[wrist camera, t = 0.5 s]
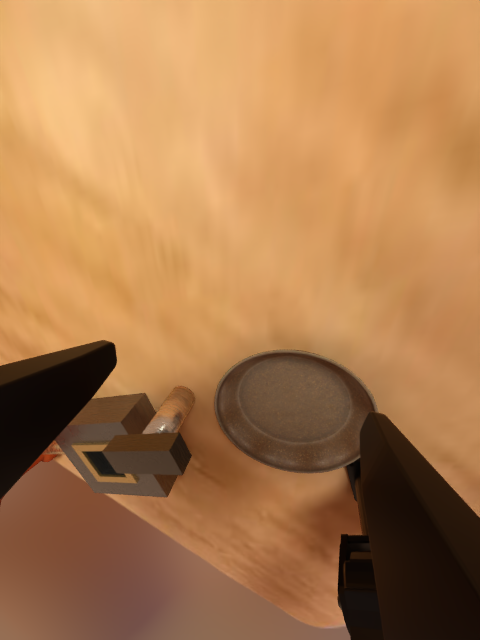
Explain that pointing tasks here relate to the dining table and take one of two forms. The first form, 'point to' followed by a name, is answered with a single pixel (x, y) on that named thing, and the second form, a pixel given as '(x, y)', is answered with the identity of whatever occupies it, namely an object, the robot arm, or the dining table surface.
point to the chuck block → (95, 434)
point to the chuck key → (155, 441)
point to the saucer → (294, 410)
